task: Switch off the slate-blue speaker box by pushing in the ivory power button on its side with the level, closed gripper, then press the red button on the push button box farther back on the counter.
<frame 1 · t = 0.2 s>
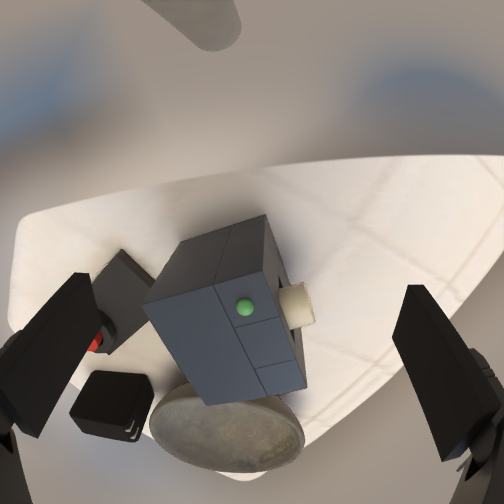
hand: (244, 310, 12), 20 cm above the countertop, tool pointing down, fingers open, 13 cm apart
electronic device: (123, 380, 44), on the countertop
push button box: (115, 304, 37), on the countertop
red button: (89, 337, 35), point 4 cm above the countertop, slide at 0.1 cm
bowl: (231, 401, 44), on the countertop
power button: (288, 308, 26), point 8 cm above the countertop, slide at 0.0 cm
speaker: (252, 274, 34), on the countertop
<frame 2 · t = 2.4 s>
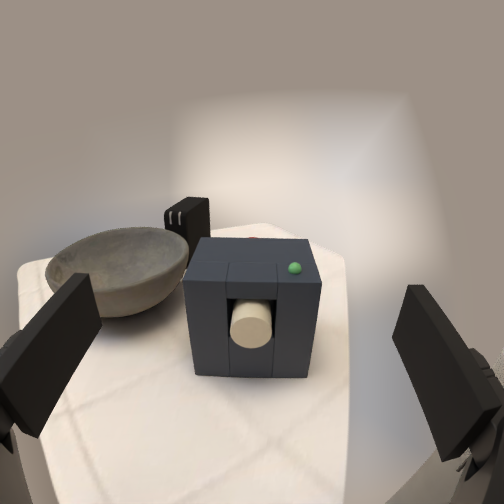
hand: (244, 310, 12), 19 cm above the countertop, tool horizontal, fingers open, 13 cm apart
electronic device: (191, 256, 59), on the countertop
red button: (252, 245, 53), point 4 cm above the countertop, slide at 0.1 cm
bowl: (123, 300, 45), on the countertop
power button: (251, 320, 29), point 8 cm above the countertop, slide at 0.0 cm
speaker: (251, 355, 35), on the countertop
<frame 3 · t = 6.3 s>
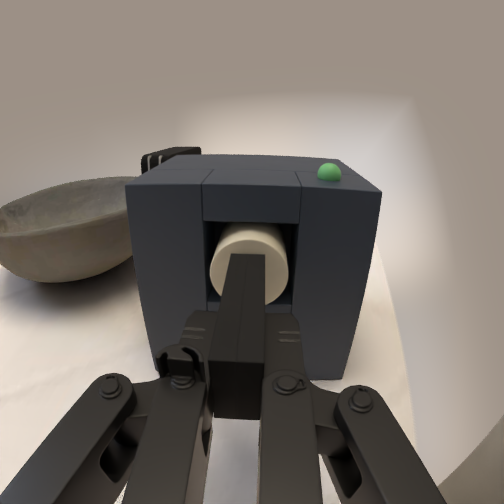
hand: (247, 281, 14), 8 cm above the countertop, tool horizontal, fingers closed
electronic device: (176, 220, 45), on the countertop
bowl: (79, 266, 32), on the countertop
power button: (250, 257, 16), point 8 cm above the countertop, slide at 1.0 cm, touching gripper
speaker: (250, 343, 22), on the countertop
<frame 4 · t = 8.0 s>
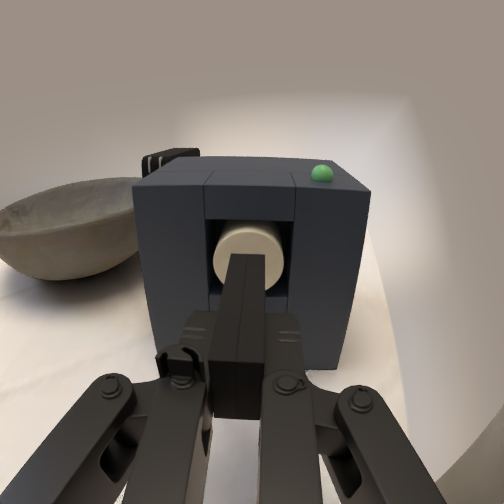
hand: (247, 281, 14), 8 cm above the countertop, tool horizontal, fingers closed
electronic device: (176, 219, 46), on the countertop
bowl: (82, 264, 33), on the countertop
power button: (249, 249, 18), point 8 cm above the countertop, slide at 1.6 cm
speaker: (249, 335, 23), on the countertop
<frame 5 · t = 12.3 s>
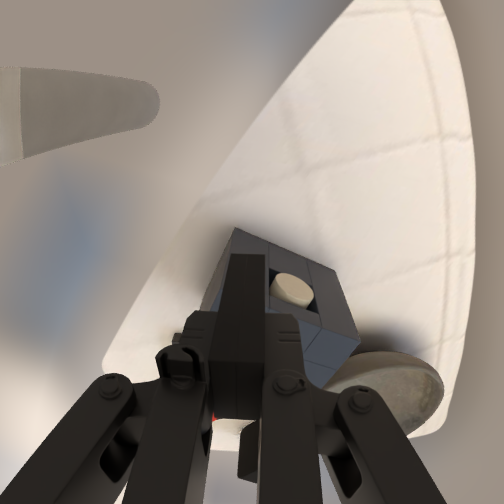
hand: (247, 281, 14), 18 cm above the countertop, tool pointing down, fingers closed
electronic device: (268, 421, 47), on the countertop
red button: (206, 410, 40), point 4 cm above the countertop, slide at 0.1 cm
bowl: (360, 378, 42), on the countertop
power button: (285, 302, 27), point 8 cm above the countertop, slide at 1.6 cm
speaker: (272, 275, 35), on the countertop
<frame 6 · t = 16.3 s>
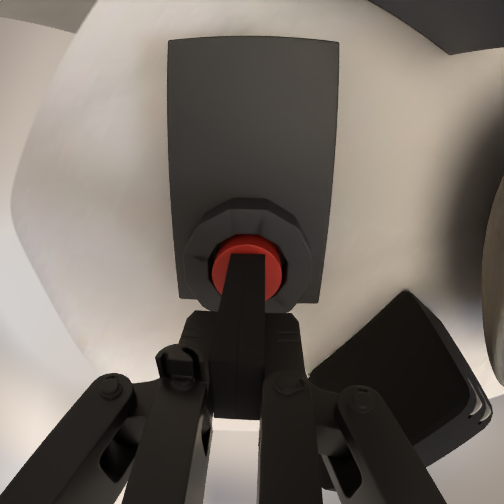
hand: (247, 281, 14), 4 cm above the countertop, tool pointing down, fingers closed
electronic device: (371, 345, 22), on the countertop
push button box: (251, 171, 17), on the countertop
red button: (247, 267, 15), point 3 cm above the countertop, slide at -0.7 cm, touching gripper
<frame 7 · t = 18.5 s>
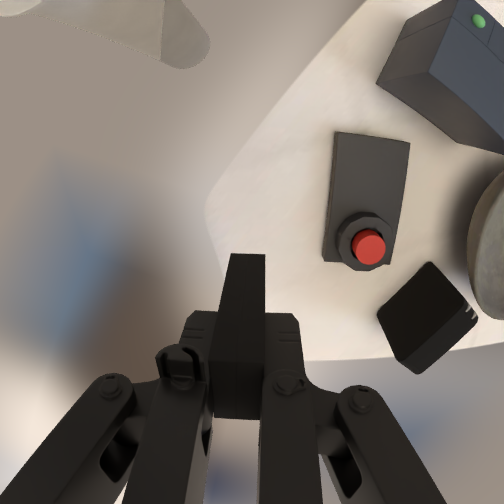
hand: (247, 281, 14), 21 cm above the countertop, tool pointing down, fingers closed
electronic device: (410, 294, 38), on the countertop
push button box: (363, 199, 33), on the countertop
red button: (368, 246, 31), point 4 cm above the countertop, slide at 0.1 cm
bowl: (502, 224, 33), on the countertop
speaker: (438, 72, 26), on the countertop
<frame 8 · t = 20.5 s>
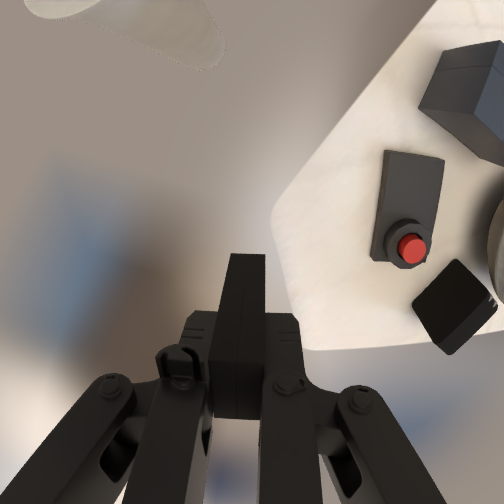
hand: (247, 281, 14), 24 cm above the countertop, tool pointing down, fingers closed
electronic device: (438, 287, 42), on the countertop
push button box: (405, 207, 37), on the countertop
red button: (412, 248, 35), point 4 cm above the countertop, slide at 0.1 cm
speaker: (467, 97, 30), on the countertop
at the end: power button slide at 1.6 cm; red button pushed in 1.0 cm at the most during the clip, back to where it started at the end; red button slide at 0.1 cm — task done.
